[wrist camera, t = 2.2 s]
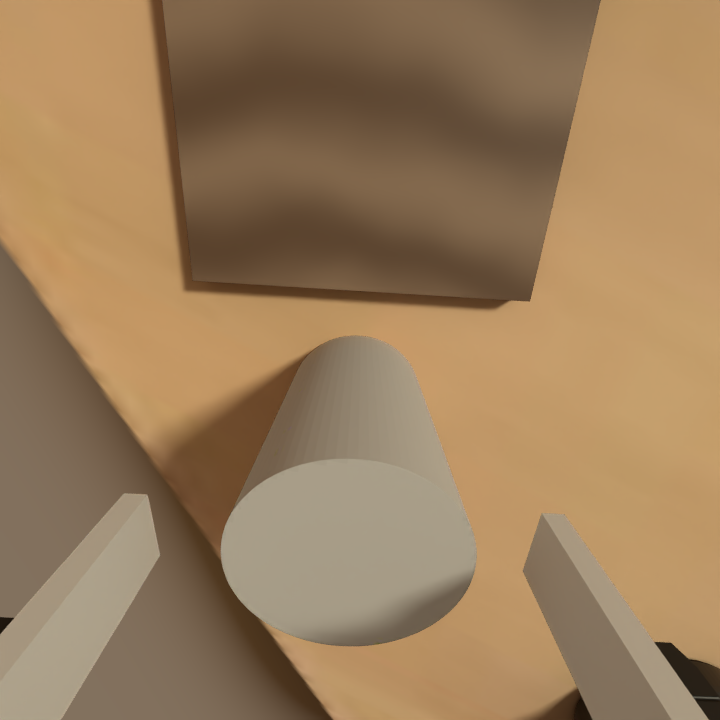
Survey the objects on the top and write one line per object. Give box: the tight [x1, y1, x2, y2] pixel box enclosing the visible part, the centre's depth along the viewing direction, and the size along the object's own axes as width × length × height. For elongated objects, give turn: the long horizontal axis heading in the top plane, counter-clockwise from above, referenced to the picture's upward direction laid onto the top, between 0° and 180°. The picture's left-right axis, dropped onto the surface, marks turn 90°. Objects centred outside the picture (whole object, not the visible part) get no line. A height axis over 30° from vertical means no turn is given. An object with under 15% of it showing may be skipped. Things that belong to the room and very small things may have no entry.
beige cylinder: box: [221, 336, 477, 646], centre depth 17 cm, size 8×8×12 cm
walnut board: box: [162, 0, 601, 301], centre depth 16 cm, size 16×18×2 cm
